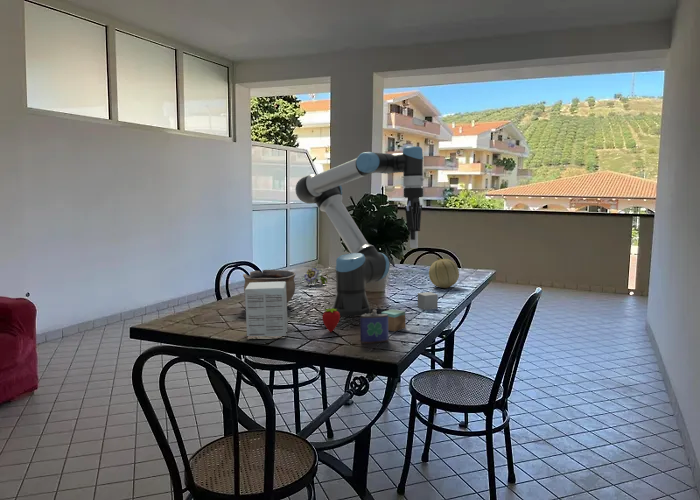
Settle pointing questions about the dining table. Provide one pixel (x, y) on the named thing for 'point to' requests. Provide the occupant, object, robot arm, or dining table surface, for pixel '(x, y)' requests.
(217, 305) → the dining table surface
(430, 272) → the cantaloupe
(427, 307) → the grey block
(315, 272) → the passion flower
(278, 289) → the supplement box
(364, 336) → the flask
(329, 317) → the strawberry
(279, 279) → the ceramic bowl
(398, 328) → the brown and green cube
